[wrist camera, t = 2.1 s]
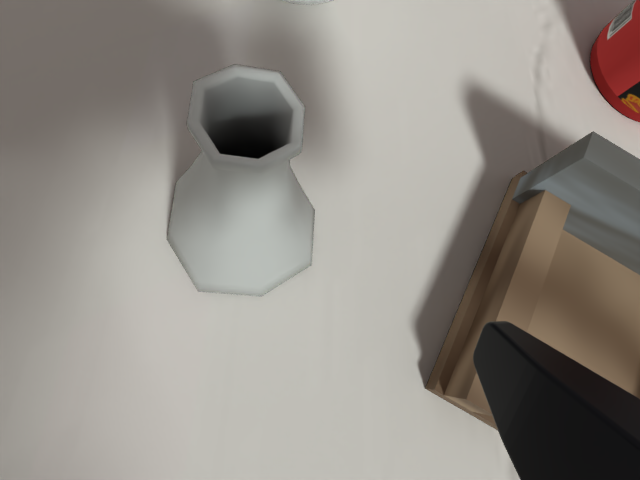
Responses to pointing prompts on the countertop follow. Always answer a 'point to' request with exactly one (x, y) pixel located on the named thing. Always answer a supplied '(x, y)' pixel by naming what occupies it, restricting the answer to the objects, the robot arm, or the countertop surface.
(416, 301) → the countertop surface
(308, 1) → the ramekin
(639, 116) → the canned food
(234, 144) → the flask
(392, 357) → the countertop surface
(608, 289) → the stand
